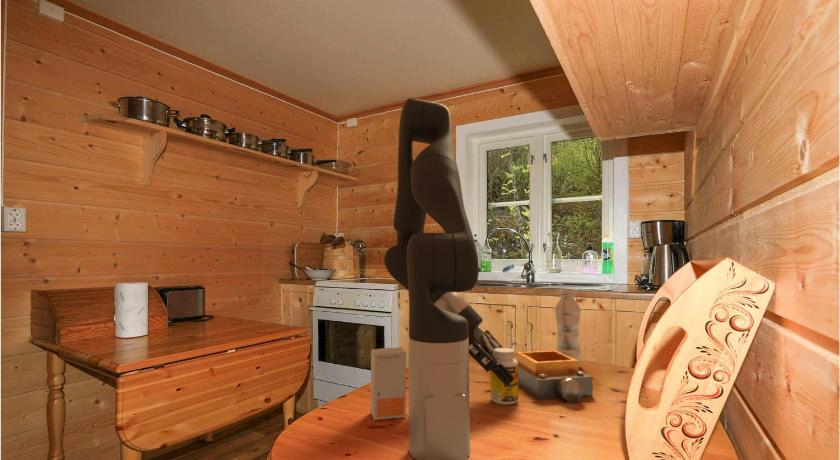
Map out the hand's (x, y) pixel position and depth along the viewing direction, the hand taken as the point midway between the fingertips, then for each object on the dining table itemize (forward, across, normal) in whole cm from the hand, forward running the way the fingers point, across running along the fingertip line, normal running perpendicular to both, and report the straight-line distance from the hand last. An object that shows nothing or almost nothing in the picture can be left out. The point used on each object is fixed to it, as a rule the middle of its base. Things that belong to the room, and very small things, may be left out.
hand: (512, 377), depth 88 cm
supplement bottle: (+2, 0, +5) cm, 5 cm away
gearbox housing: (+8, +12, -1) cm, 14 cm away
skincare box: (-11, -15, +18) cm, 26 cm away
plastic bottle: (+11, +31, -4) cm, 33 cm away
